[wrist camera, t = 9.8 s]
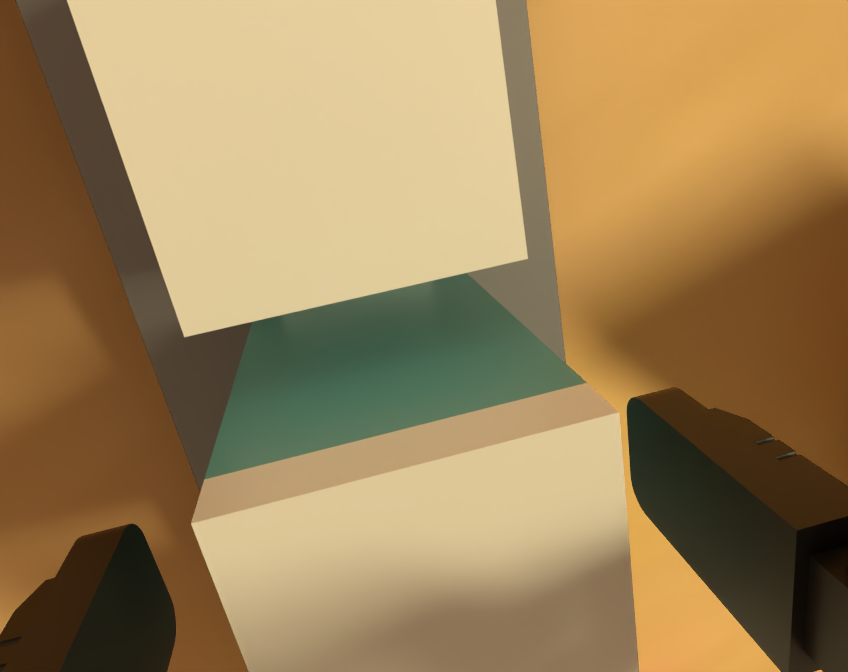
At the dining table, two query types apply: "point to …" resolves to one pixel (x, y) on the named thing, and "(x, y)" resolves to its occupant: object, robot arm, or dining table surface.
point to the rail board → (298, 164)
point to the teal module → (417, 495)
